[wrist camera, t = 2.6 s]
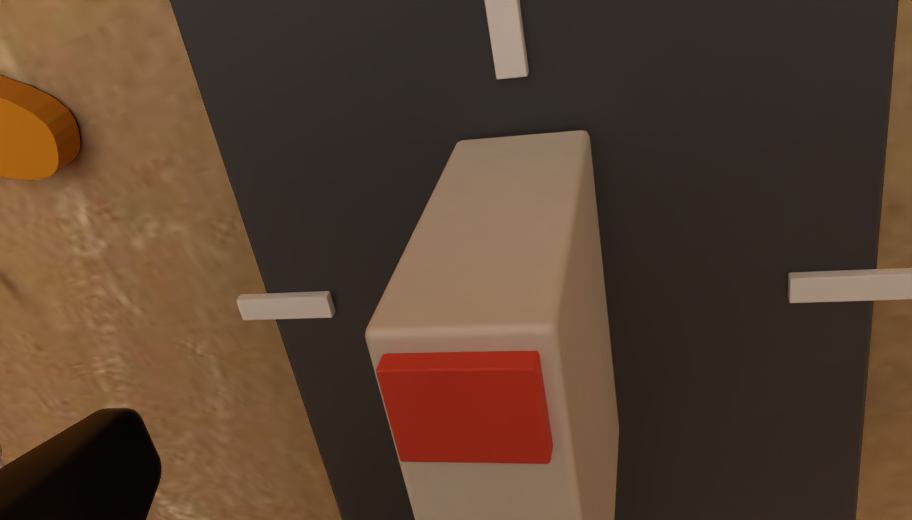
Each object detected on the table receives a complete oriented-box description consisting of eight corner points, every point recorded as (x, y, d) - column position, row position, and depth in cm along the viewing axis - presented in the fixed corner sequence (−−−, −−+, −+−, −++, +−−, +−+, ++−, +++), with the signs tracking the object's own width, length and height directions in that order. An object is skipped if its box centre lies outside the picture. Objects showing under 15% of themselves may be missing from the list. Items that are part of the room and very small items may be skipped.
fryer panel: (380, 444, 18) (331, 571, 15) (215, -134, 12) (94, -96, 10) (843, 449, 15) (882, 599, 13) (891, -258, 10) (977, -254, 7)
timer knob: (620, 428, 12) (604, 716, 9) (509, 428, 13) (451, 701, 9) (589, 125, 10) (551, 346, 6) (456, 137, 10) (350, 351, 7)
